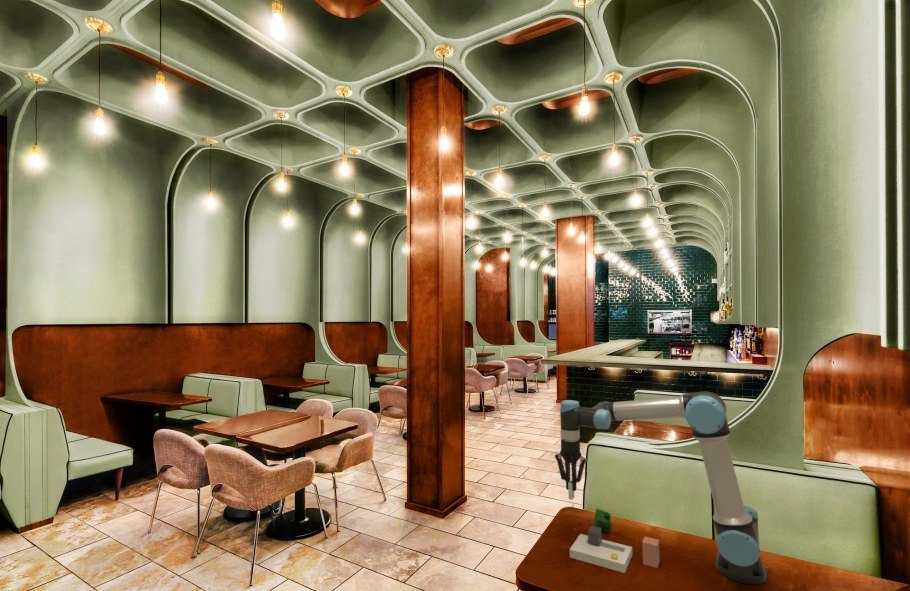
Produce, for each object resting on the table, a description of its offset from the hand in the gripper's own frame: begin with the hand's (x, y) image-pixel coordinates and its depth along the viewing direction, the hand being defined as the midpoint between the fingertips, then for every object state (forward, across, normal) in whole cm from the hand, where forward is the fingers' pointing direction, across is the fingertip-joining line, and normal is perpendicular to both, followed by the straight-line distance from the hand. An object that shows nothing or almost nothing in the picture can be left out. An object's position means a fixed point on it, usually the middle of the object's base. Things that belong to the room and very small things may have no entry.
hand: (571, 498), depth 179 cm
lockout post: (+18, -29, -2) cm, 34 cm away
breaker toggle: (+15, -9, 0) cm, 17 cm away
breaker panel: (+18, -12, +3) cm, 22 cm away
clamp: (+19, -7, -20) cm, 28 cm away
